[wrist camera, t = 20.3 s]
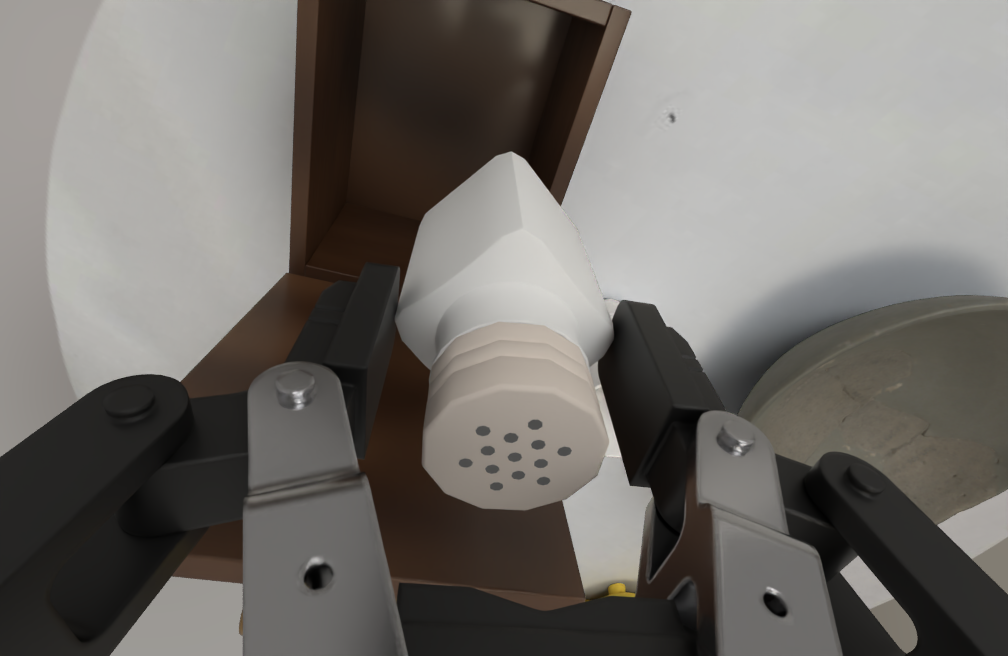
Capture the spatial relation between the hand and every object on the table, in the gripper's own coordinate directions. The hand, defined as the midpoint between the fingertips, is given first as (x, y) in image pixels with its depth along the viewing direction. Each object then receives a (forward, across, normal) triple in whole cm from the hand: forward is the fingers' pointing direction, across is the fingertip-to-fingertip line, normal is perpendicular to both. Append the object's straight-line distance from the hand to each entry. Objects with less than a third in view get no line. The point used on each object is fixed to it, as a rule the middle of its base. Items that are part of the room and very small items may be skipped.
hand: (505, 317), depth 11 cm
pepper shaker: (+6, 0, 0) cm, 6 cm away
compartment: (+23, +3, +1) cm, 23 cm away
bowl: (+23, -36, +18) cm, 46 cm away
